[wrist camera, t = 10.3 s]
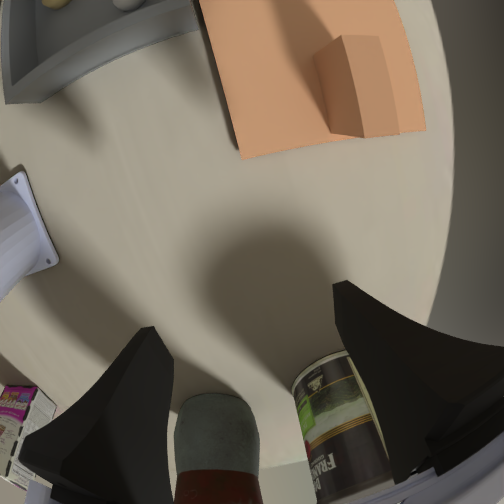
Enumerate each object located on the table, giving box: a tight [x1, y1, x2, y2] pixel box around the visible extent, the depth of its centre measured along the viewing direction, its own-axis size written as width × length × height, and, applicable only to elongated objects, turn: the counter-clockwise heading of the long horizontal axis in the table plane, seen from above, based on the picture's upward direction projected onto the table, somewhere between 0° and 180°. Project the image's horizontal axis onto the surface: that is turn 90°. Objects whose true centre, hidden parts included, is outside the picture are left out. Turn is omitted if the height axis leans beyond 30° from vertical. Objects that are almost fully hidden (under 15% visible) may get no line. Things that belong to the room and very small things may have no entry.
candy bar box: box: [0, 386, 57, 491], centre depth 19 cm, size 11×5×16 cm, turn 106°
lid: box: [199, 0, 426, 160], centre depth 11 cm, size 13×13×6 cm
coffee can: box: [292, 350, 395, 504], centre depth 20 cm, size 10×10×14 cm
